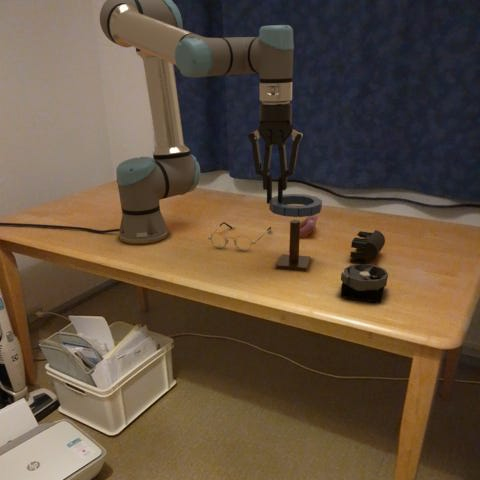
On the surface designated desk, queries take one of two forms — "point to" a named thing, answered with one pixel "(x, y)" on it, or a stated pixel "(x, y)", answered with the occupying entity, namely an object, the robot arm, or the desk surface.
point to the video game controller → (308, 225)
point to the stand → (294, 251)
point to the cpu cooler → (363, 282)
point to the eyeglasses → (234, 238)
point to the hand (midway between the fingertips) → (274, 202)
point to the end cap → (367, 247)
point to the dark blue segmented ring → (310, 208)
